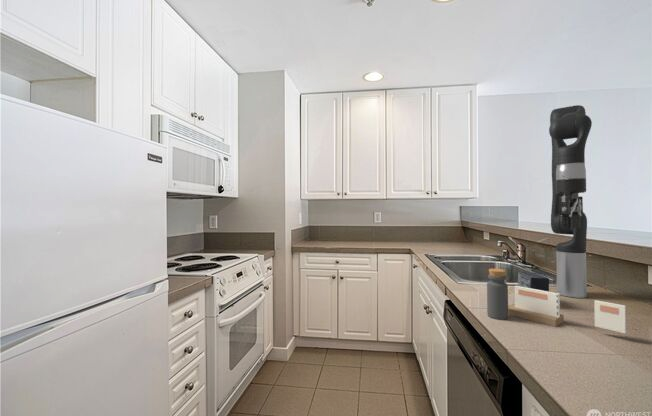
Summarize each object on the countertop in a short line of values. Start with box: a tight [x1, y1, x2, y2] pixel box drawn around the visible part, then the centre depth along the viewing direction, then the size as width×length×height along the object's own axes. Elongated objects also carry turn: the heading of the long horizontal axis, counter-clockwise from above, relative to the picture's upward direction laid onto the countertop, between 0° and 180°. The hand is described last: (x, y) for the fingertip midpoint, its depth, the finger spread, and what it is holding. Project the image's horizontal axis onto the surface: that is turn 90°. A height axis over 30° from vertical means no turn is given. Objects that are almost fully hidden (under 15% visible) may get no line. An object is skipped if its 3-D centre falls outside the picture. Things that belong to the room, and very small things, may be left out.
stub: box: [593, 299, 627, 334], centre depth 80 cm, size 6×1×7 cm, turn 35°
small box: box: [517, 271, 550, 292], centre depth 110 cm, size 11×6×10 cm, turn 168°
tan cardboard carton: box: [508, 285, 565, 327], centre depth 95 cm, size 14×7×9 cm, turn 35°
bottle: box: [486, 268, 509, 321], centre depth 96 cm, size 6×6×15 cm
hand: (571, 228), depth 96 cm, fingers open, 8 cm apart
